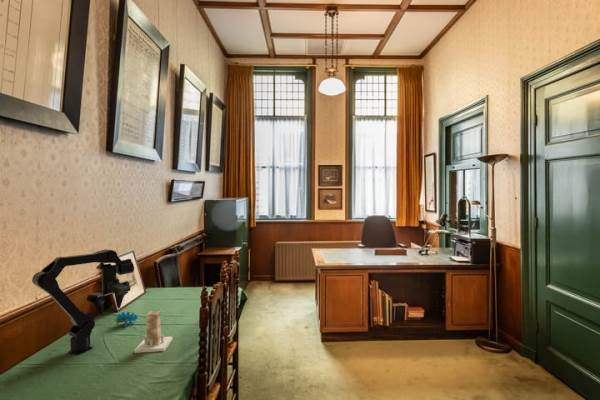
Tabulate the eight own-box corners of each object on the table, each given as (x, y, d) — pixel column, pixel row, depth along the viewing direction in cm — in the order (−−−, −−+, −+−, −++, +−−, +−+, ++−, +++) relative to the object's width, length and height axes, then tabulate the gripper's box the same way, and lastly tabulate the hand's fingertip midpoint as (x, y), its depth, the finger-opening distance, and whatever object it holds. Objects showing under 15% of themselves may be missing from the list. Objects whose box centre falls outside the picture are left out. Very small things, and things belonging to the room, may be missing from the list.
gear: (141, 317, 178) (133, 309, 171) (139, 328, 174) (131, 320, 167) (120, 321, 178) (110, 313, 170) (117, 333, 174) (108, 324, 166)
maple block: (147, 345, 145) (146, 315, 145) (151, 341, 149) (149, 311, 149) (157, 344, 145) (156, 314, 145) (161, 340, 150) (160, 310, 149)
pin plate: (134, 352, 141) (134, 342, 141) (145, 340, 153) (144, 331, 153) (164, 350, 142) (163, 340, 142) (172, 339, 154) (172, 329, 154)
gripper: (105, 283, 143) (106, 320, 143) (139, 273, 161) (140, 306, 161) (85, 282, 147) (86, 318, 147) (120, 272, 164) (121, 304, 165)
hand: (110, 311), depth 155 cm, fingers open, 9 cm apart
